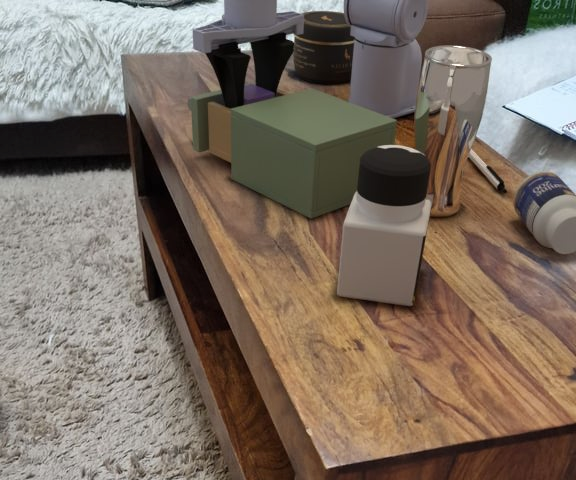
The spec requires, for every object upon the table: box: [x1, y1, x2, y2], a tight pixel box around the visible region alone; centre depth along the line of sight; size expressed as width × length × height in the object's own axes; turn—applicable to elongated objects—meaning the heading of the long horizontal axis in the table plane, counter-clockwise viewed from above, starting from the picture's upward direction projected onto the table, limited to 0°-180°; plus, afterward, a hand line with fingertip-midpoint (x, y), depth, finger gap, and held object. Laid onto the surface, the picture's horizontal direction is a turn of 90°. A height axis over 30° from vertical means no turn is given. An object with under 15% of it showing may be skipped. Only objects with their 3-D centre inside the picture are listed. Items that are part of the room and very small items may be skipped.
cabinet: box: [230, 87, 398, 220], centre depth 86 cm, size 13×12×8 cm
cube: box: [224, 83, 275, 106], centre depth 90 cm, size 4×4×4 cm
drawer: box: [186, 81, 290, 164], centre depth 92 cm, size 17×11×6 cm
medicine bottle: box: [336, 144, 431, 307], centre depth 69 cm, size 7×7×12 cm
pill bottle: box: [513, 170, 576, 255], centre depth 79 cm, size 5×5×10 cm
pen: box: [468, 148, 508, 194], centre depth 95 cm, size 1×19×1 cm, turn 11°
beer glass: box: [413, 44, 493, 218], centre depth 81 cm, size 7×7×15 cm
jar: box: [293, 10, 355, 85], centre depth 116 cm, size 10×10×8 cm
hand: (249, 111), depth 91 cm, fingers closed on cube, 4 cm apart
